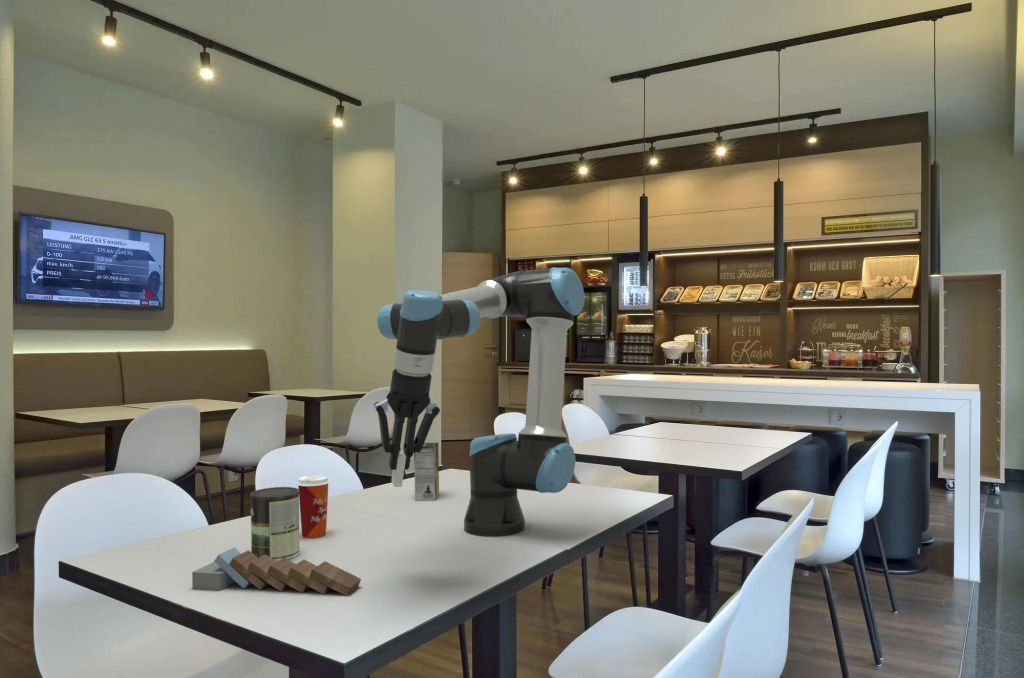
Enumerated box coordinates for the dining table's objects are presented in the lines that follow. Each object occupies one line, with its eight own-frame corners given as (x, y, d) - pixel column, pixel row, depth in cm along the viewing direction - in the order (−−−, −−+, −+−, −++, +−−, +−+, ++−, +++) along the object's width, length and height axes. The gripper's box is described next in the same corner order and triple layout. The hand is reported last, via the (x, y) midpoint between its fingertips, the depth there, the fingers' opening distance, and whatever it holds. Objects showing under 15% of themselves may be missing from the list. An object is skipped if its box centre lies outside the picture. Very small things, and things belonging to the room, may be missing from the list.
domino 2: (279, 574, 136) (248, 550, 137) (264, 583, 131) (232, 557, 132) (275, 581, 136) (244, 556, 138) (260, 590, 131) (228, 564, 133)
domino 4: (318, 576, 134) (284, 557, 136) (305, 585, 129) (270, 565, 131) (315, 584, 134) (281, 564, 136) (302, 593, 129) (266, 572, 131)
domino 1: (263, 574, 137) (234, 547, 138) (248, 582, 132) (218, 554, 133) (258, 580, 137) (230, 553, 138) (243, 588, 132) (214, 561, 133)
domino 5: (339, 577, 133) (304, 559, 135) (326, 586, 128) (290, 567, 130) (336, 585, 133) (301, 566, 135) (323, 594, 128) (287, 574, 130)
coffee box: (418, 494, 215) (418, 442, 216) (439, 494, 215) (438, 442, 216) (414, 501, 206) (413, 446, 207) (435, 500, 206) (435, 446, 206)
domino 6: (361, 578, 132) (325, 561, 134) (349, 587, 127) (312, 569, 129) (358, 586, 132) (322, 568, 134) (346, 595, 127) (309, 577, 129)
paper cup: (321, 540, 165) (320, 480, 165) (291, 538, 167) (290, 480, 167) (336, 531, 173) (335, 474, 173) (307, 530, 174) (306, 474, 175)
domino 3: (298, 575, 135) (265, 554, 137) (284, 584, 130) (250, 561, 132) (294, 582, 135) (262, 561, 137) (280, 591, 130) (247, 569, 132)
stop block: (245, 576, 139) (245, 561, 139) (220, 590, 131) (220, 573, 131) (218, 574, 140) (218, 559, 141) (192, 588, 133) (192, 572, 133)
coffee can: (244, 564, 148) (243, 497, 148) (258, 549, 158) (257, 487, 158) (294, 561, 149) (293, 495, 149) (304, 548, 159) (303, 486, 159)
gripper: (383, 375, 128) (367, 493, 133) (450, 378, 133) (433, 491, 138) (375, 363, 135) (360, 475, 140) (439, 366, 140) (423, 475, 145)
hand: (396, 483), depth 139 cm, fingers closed
